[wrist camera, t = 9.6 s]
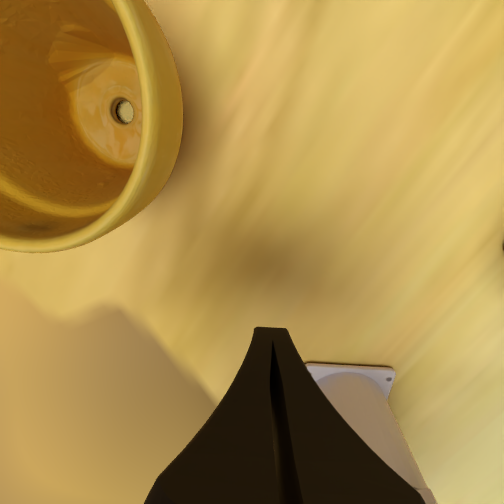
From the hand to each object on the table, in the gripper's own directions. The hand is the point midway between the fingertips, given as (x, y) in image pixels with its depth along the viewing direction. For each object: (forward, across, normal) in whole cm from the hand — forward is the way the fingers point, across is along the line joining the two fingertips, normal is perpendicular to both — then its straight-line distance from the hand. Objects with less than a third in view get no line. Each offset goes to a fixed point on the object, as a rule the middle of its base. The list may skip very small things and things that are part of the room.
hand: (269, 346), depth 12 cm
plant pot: (+10, +9, -9) cm, 16 cm away
